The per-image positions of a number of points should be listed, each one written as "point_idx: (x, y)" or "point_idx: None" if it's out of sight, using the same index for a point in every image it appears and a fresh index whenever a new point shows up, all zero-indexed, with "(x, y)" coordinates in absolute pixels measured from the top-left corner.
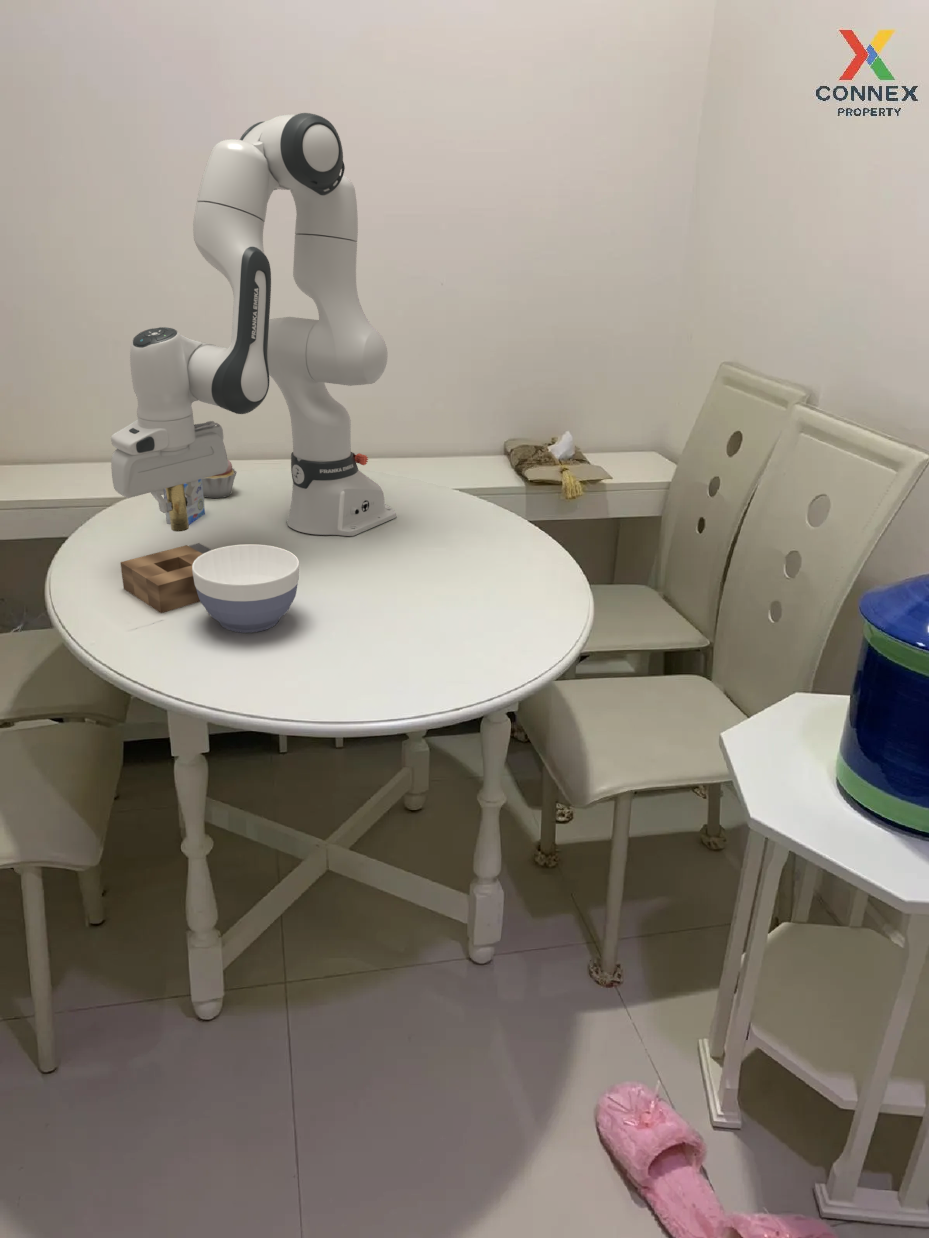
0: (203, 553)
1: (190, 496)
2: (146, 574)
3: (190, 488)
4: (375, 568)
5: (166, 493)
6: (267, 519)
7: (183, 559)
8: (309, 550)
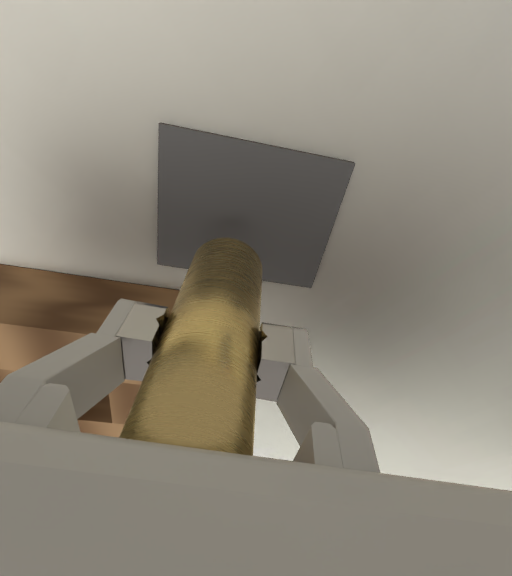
0: (293, 240)
1: (277, 401)
2: None
3: (306, 424)
4: (414, 462)
5: (144, 380)
6: None
7: (109, 396)
8: (449, 375)
